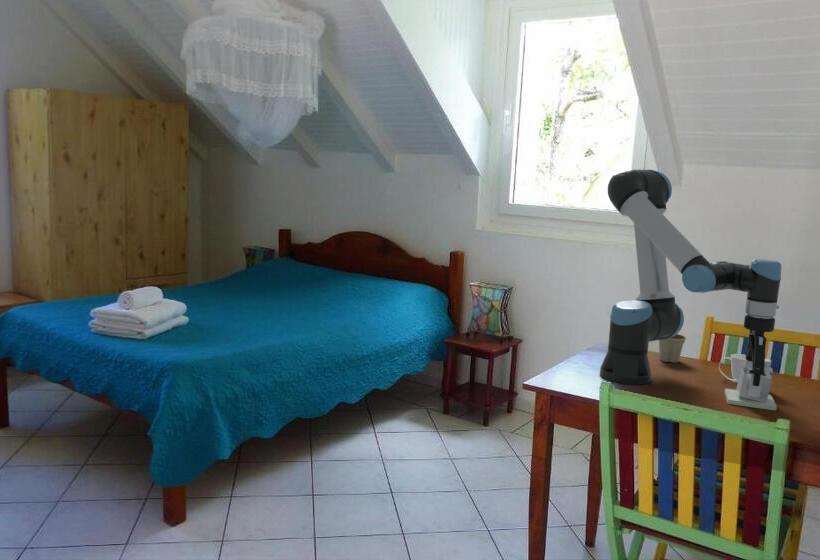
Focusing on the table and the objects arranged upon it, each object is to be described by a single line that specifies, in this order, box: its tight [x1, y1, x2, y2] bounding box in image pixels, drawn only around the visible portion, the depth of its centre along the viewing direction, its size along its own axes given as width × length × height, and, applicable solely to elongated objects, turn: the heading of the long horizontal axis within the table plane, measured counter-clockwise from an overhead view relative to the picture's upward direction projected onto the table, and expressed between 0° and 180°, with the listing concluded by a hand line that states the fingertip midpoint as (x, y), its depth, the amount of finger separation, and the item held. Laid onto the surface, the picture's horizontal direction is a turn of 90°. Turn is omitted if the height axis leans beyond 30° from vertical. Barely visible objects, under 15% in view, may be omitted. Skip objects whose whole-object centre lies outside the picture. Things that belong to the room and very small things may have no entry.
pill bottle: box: [764, 358, 774, 393], centre depth 200 cm, size 5×5×10 cm
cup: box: [718, 353, 746, 384], centre depth 209 cm, size 7×10×8 cm
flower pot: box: [658, 333, 688, 364], centre depth 231 cm, size 9×9×9 cm
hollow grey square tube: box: [735, 367, 773, 403], centre depth 190 cm, size 7×7×7 cm
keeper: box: [724, 368, 777, 411], centre depth 190 cm, size 12×11×9 cm
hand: (750, 389), depth 190 cm, fingers open, 13 cm apart
